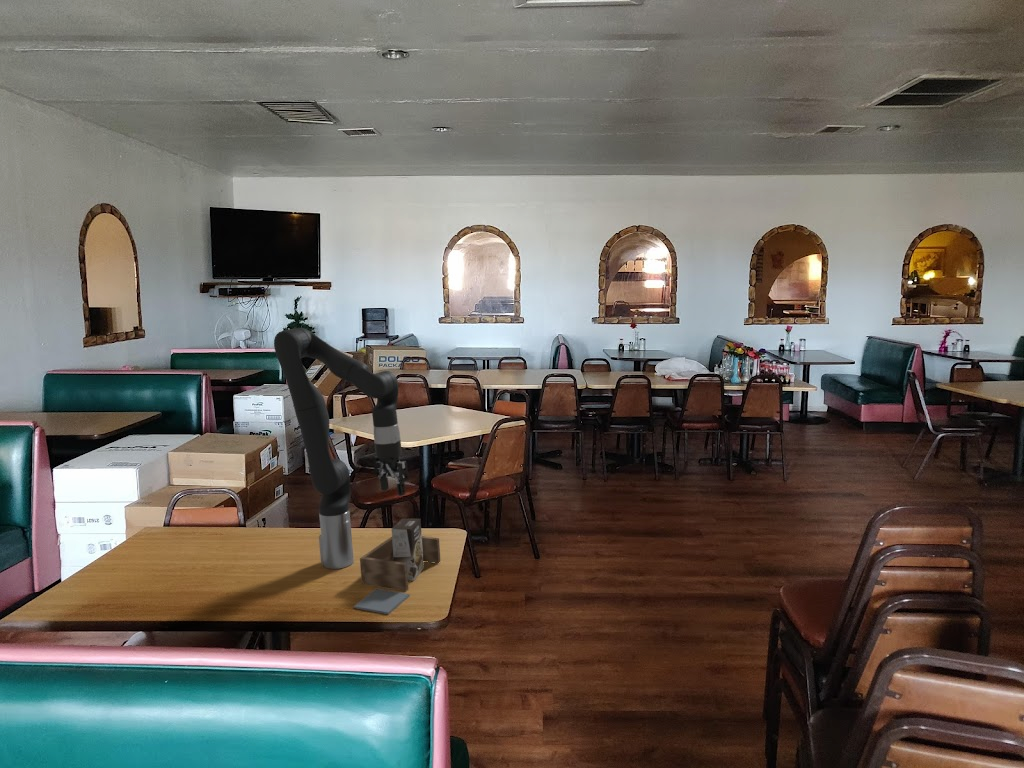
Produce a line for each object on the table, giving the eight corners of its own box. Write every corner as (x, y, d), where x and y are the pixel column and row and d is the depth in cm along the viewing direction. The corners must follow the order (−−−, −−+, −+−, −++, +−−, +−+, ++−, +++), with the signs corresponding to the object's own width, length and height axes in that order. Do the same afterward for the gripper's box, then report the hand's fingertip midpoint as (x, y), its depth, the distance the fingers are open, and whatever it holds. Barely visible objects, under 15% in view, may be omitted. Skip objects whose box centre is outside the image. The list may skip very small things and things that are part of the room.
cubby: (361, 583, 204) (359, 558, 202) (398, 556, 222) (397, 532, 221) (406, 591, 198) (404, 564, 196) (440, 562, 216) (439, 538, 215)
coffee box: (414, 581, 204) (411, 529, 201) (394, 580, 205) (390, 528, 203) (424, 568, 213) (421, 518, 210) (404, 567, 214) (401, 517, 211)
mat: (354, 608, 189) (353, 606, 189) (376, 590, 199) (376, 588, 199) (388, 614, 185) (388, 612, 185) (409, 596, 195) (409, 594, 195)
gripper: (363, 439, 205) (369, 491, 208) (390, 445, 195) (396, 500, 198) (384, 433, 210) (390, 485, 213) (412, 439, 200) (417, 493, 203)
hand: (393, 492), depth 205 cm, fingers open, 8 cm apart
